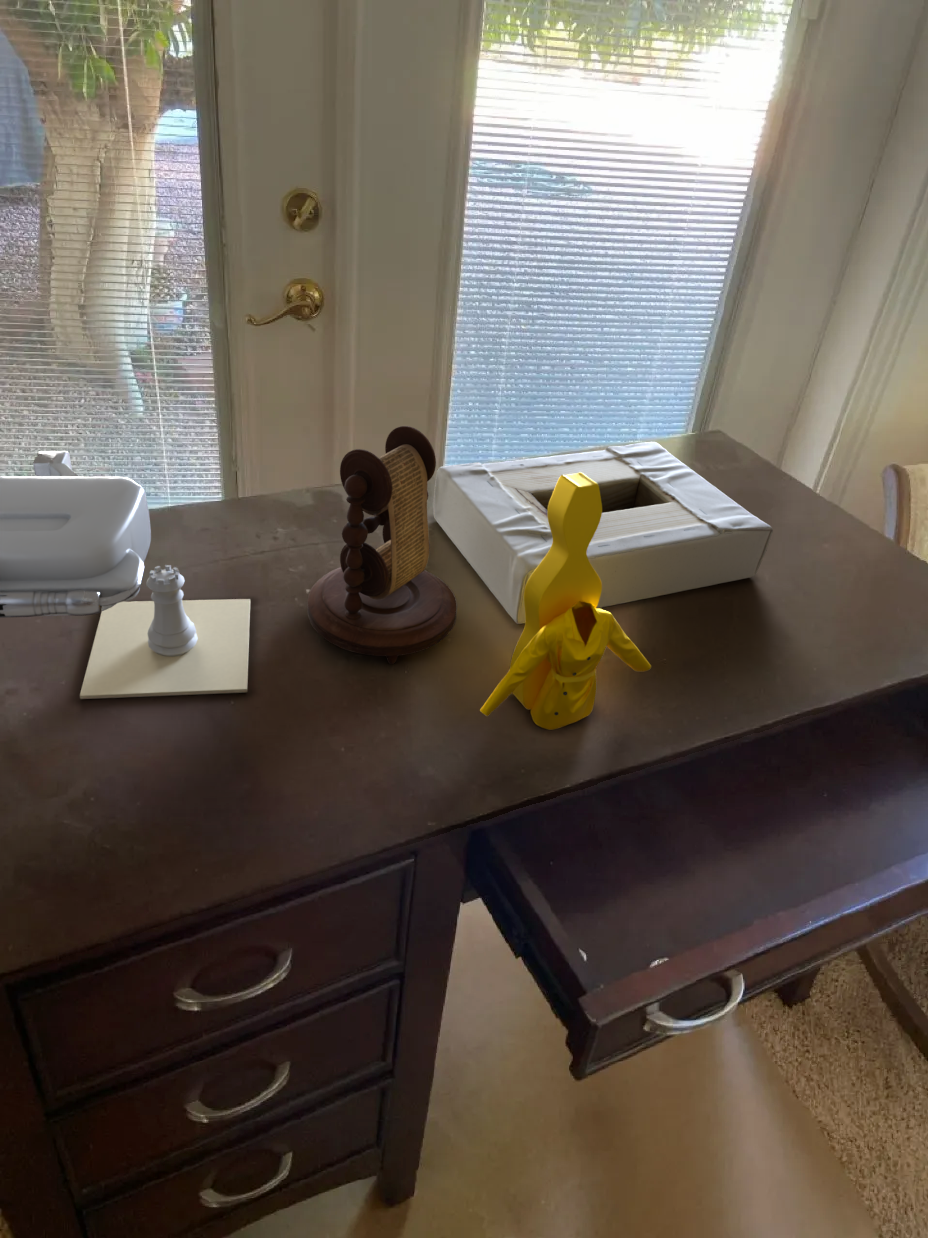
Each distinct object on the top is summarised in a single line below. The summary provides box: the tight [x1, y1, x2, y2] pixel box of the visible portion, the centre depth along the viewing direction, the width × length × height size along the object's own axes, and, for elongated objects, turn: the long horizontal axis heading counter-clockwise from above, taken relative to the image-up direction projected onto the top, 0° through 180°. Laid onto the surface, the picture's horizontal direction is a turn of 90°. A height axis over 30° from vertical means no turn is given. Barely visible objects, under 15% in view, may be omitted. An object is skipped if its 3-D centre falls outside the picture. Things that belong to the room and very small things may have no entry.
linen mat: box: [79, 598, 251, 700], centre depth 83 cm, size 14×14×1 cm
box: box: [432, 441, 774, 625], centre depth 103 cm, size 23×8×32 cm
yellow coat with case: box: [479, 472, 652, 731], centre depth 75 cm, size 18×8×22 cm, turn 117°
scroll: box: [307, 425, 458, 665], centre depth 84 cm, size 15×15×20 cm
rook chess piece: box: [145, 564, 198, 657], centre depth 81 cm, size 4×4×8 cm
